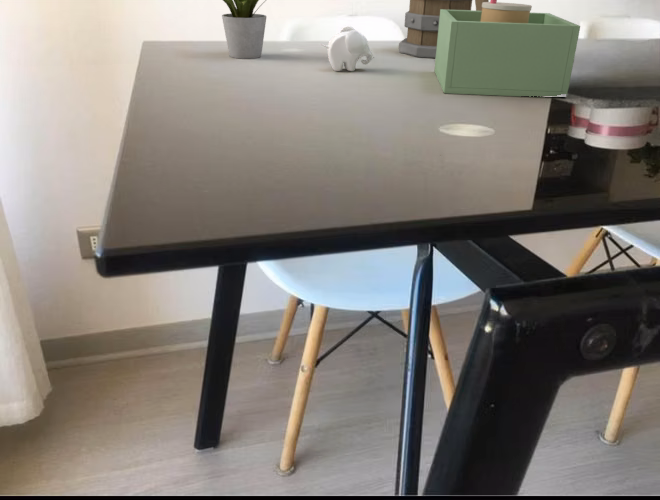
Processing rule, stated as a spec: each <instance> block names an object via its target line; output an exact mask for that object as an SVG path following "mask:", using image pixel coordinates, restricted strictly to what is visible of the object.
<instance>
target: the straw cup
mask: <svg viewBox="0 0 660 500" xmlns="http://www.w3.org/2000/svg"><path fill="white" fill-rule="evenodd" d="M532 7H533V6H532V5H530V4H525V3H515V2H501V1H498V0H490V1H489V2H483V3H482V14H481V21H480V22H503V23H528V21H529V15H530V13H531V11H532Z"/></svg>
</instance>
